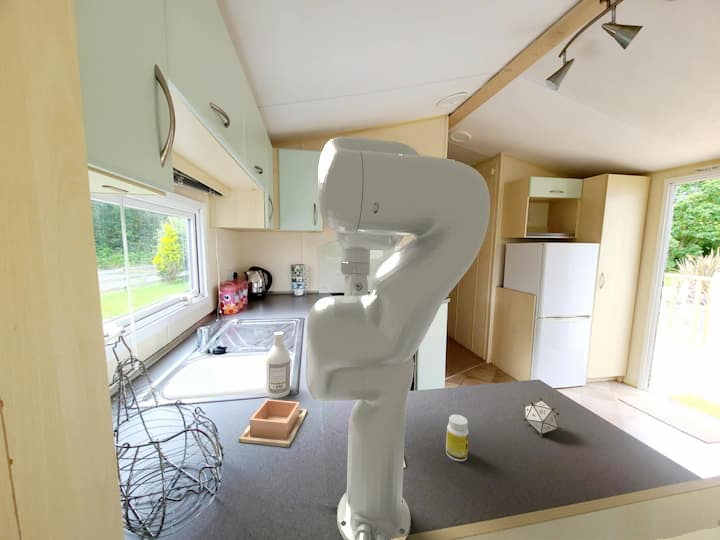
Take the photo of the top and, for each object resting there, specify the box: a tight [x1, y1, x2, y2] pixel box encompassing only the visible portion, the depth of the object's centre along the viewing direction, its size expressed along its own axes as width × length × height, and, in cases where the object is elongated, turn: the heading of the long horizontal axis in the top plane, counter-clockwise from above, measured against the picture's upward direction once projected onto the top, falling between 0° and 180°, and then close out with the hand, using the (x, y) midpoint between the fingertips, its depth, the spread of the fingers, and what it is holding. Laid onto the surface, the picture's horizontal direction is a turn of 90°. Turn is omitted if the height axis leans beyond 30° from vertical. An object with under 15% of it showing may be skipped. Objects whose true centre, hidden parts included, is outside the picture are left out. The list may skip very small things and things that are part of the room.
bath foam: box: [266, 331, 291, 399], centre depth 87 cm, size 7×7×20 cm
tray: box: [238, 408, 308, 448], centre depth 71 cm, size 14×12×2 cm
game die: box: [521, 397, 563, 438], centre depth 73 cm, size 9×8×10 cm
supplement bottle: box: [445, 414, 470, 462], centre depth 64 cm, size 5×5×8 cm
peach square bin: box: [249, 399, 301, 439], centre depth 71 cm, size 9×9×4 cm
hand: (353, 334), depth 74 cm, fingers open, 9 cm apart
